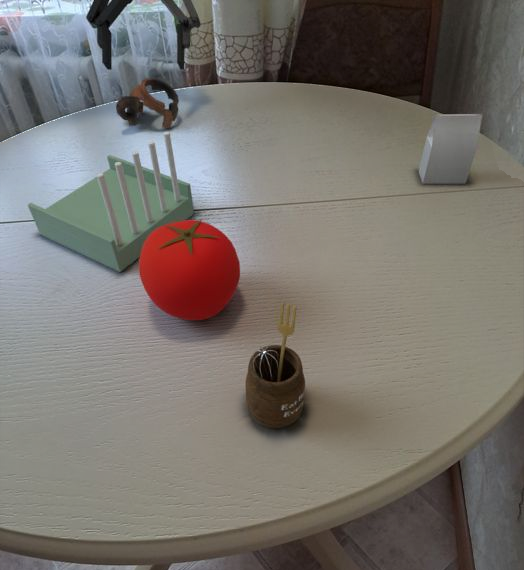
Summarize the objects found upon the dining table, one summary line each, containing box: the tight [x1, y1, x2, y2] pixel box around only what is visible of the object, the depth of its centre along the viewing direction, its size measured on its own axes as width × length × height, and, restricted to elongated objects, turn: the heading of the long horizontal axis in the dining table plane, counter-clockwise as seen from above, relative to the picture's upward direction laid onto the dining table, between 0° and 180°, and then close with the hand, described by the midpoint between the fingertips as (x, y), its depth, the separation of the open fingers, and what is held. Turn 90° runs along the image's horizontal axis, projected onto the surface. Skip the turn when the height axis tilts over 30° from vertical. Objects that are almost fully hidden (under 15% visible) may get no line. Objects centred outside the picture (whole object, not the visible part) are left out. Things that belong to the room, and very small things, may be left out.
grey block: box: [418, 113, 483, 185], centre depth 77 cm, size 4×7×10 cm, turn 89°
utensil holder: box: [245, 301, 306, 429], centre depth 48 cm, size 6×6×12 cm
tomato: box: [138, 218, 241, 321], centre depth 59 cm, size 12×12×10 cm
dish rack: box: [27, 131, 195, 273], centre depth 69 cm, size 16×16×13 cm
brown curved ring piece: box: [115, 77, 180, 129], centre depth 93 cm, size 12×10×8 cm
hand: (143, 66), depth 91 cm, fingers open, 13 cm apart
